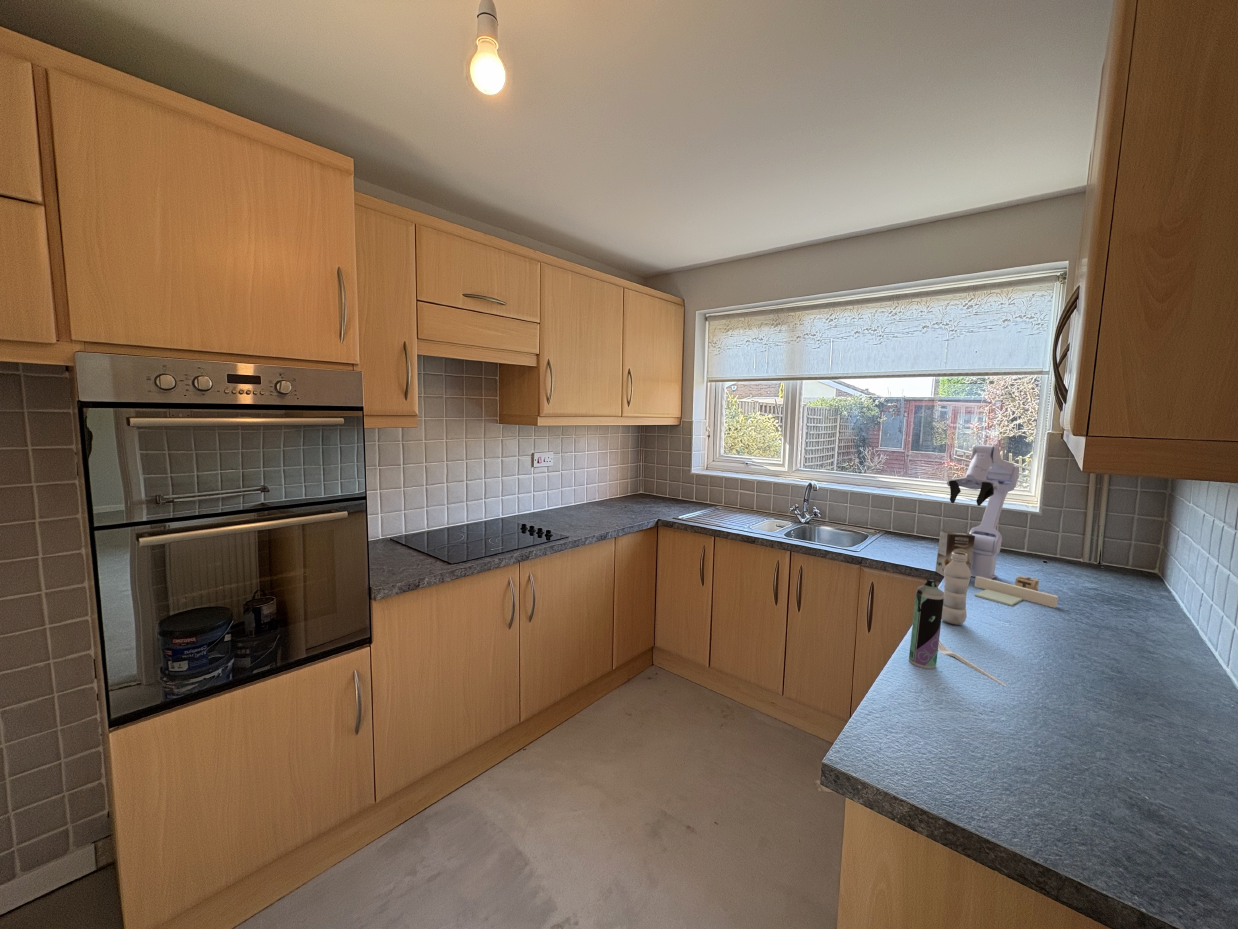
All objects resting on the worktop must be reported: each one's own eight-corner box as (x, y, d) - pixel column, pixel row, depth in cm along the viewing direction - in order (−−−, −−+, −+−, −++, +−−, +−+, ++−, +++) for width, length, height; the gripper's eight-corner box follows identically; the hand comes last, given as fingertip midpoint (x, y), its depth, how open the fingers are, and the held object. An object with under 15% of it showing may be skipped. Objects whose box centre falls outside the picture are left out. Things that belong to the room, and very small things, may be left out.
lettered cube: (1019, 589, 175) (1021, 575, 175) (1037, 594, 171) (1039, 579, 171) (1013, 592, 172) (1015, 577, 172) (1032, 597, 168) (1034, 582, 168)
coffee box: (943, 576, 186) (948, 534, 184) (934, 571, 192) (939, 529, 191) (970, 578, 185) (975, 535, 183) (960, 573, 191) (965, 531, 190)
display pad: (986, 590, 172) (986, 588, 172) (1022, 600, 164) (1022, 598, 164) (974, 595, 166) (974, 594, 166) (1011, 606, 158) (1011, 604, 158)
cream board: (976, 585, 177) (977, 576, 177) (1056, 607, 159) (1058, 596, 159) (974, 586, 176) (975, 576, 176) (1055, 607, 158) (1056, 597, 158)
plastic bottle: (967, 623, 143) (975, 554, 141) (963, 629, 138) (971, 558, 136) (941, 616, 148) (948, 549, 146) (935, 622, 143) (943, 553, 141)
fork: (999, 690, 109) (1000, 682, 109) (926, 645, 128) (927, 638, 128) (1012, 689, 110) (1013, 681, 109) (937, 644, 129) (938, 637, 129)
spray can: (926, 671, 114) (936, 585, 112) (903, 660, 119) (912, 577, 117) (941, 666, 117) (950, 582, 115) (917, 656, 122) (926, 575, 119)
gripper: (950, 463, 177) (937, 492, 172) (1000, 465, 165) (987, 496, 160) (955, 477, 180) (942, 506, 175) (1004, 480, 168) (992, 511, 163)
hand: (964, 502), depth 168 cm, fingers open, 7 cm apart
